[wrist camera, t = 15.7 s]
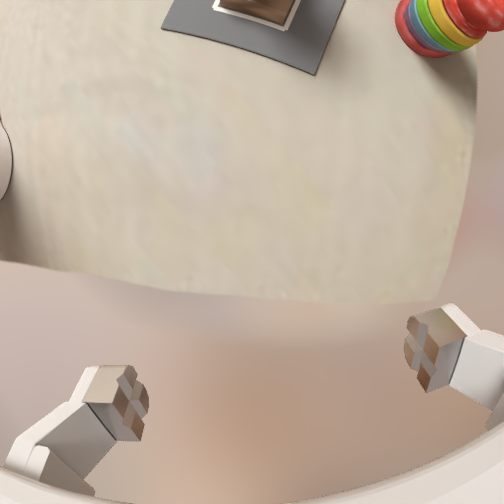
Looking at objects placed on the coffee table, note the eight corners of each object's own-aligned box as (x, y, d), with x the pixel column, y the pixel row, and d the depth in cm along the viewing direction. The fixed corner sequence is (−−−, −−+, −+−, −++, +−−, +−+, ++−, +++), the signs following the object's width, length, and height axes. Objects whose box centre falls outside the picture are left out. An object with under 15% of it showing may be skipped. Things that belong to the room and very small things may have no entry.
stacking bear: (458, 46, 29) (540, 31, 13) (424, 72, 31) (513, 57, 15) (417, -10, 26) (488, -48, 9) (377, 11, 28) (450, -37, 12)
